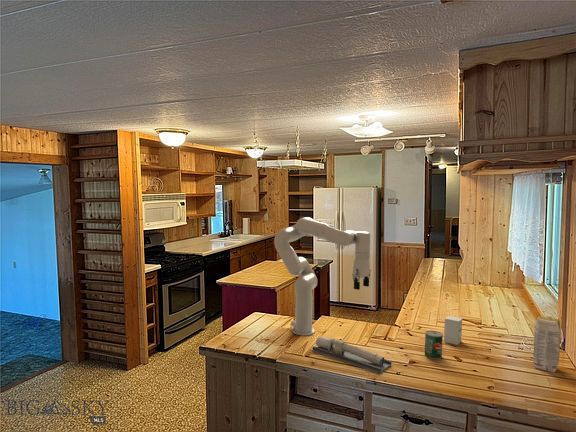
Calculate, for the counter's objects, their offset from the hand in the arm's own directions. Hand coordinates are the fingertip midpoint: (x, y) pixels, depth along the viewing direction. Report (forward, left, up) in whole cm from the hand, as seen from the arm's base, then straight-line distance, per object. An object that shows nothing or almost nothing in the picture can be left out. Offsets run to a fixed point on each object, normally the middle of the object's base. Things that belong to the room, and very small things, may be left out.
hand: (361, 287), depth 203 cm
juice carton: (+79, +28, -28) cm, 89 cm away
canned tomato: (+36, +7, -28) cm, 46 cm away
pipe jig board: (+8, -23, -28) cm, 37 cm away
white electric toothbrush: (+12, -23, -28) cm, 38 cm away
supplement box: (+37, +33, -29) cm, 57 cm away
